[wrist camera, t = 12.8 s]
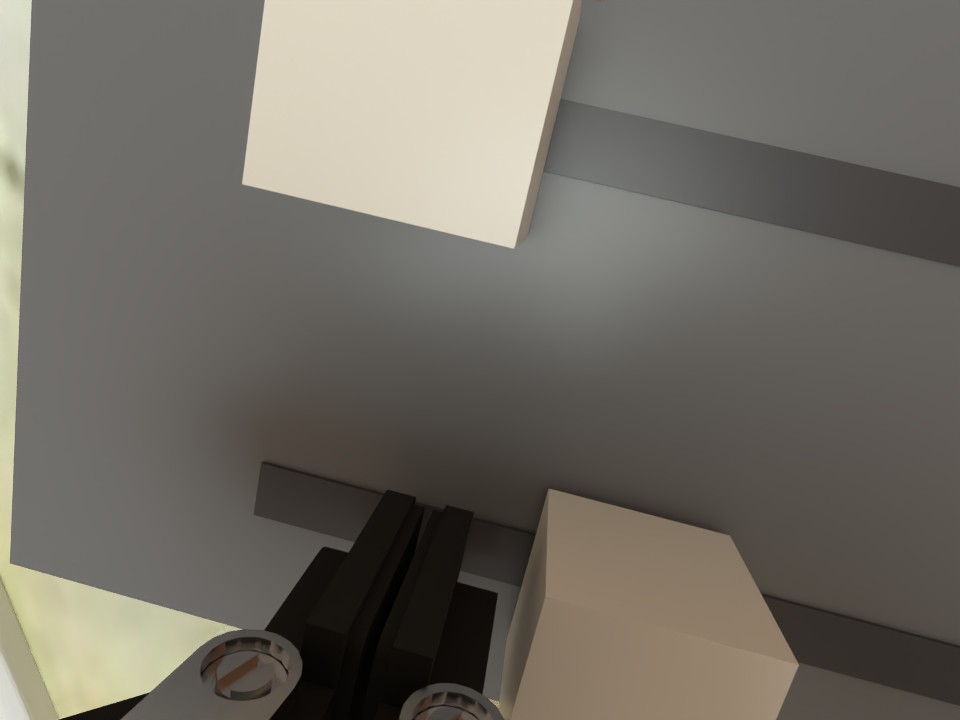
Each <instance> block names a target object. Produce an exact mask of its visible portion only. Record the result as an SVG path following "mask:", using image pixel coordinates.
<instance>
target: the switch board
mask: <svg viewBox="0 0 960 720" xmlns="http://www.w3.org/2000/svg"><path fill="white" fill-rule="evenodd" d="M264 3H265V0H32V12H31V38H30V63H29V89H28V115H27V140H26V166H25V191H24V217H23V243H22V268H21V294H20V319H19V345H18V371H17V396H16V422H15V447H14V473H13V499H12V524H11V550H10V563H11V564H14V565H18V566H21V567H25V568H28V569H32V570H35V571H39V572H43V573H46V574H50V575H53V576H57V577H60V578H64V579H67V580H71V581H74V582H78V583H81V584H85V585H89V586H92V587H96V588H99V589H103V590H106V591H110V592H113V593H117V594H120V595H124V596H128V597H131V598H135V599H138V600H142V601H145V602H149V603H152V604H156V605H159V606H163V607H167V608H170V609H174V610H177V611H181V612H184V613H188V614H191V615H195V616H198V617H202V618H205V619H209V620H213V621H216V622H220V623H223V624H227V625H230V626H234V627H237V628H241V629H254V630H264V629H265V628H266V627H267V625H268V624H269V622H270V621H271V619H272V618H273V617H274V615H275V614H276V612H277V611H278V609H279V608H280V606H281V605H282V604H283V602H284V601H285V599H286V598H287V596H288V595H289V594H290V592H291V591H292V589H293V588H294V586H295V585H296V584H297V582H298V581H299V579H300V578H301V576H302V575H303V574H304V572H305V571H306V569H307V568H308V566H309V565H310V564H311V562H312V561H313V559H314V558H315V556H316V555H317V554H318V552H319V551H320V550H321V549H322V547H325V546H326V547H330V548H333V549H337V550H341V551H344V552H348V553H349V551H350V549H351V548H352V546H353V544H354V543H355V541H356V539H357V538H358V536H359V534H360V533H361V531H362V530H363V528H364V526H365V525H366V523H367V521H368V520H369V518H370V516H371V515H372V513H373V512H374V510H375V508H376V507H377V505H378V503H379V502H380V500H381V498H382V497H383V495H384V494H385V492H386V491H387V490H392V491H395V492H399V493H403V494H407V495H411V496H414V497H416V501H415V505H418V506H422V507H424V515H423V519H422V524H421V528H420V533H419V538H418V542H417V547H418V544H419V542H420V539H421V537H422V535H423V532H424V530H425V527H426V525H427V522H428V520H429V518H430V515H431V513H432V511H433V510H437V511H441V512H443V511H444V509H445V506H446V505H449V506H453V507H457V508H460V509H464V510H468V511H472V512H474V515H473V519H472V523H471V527H470V532H469V536H468V540H467V544H466V548H465V552H464V556H463V560H462V565H461V569H460V573H459V577H458V581H457V582H460V583H463V584H467V585H471V586H474V587H478V588H482V589H486V590H489V591H493V592H497V593H498V597H497V604H496V611H495V617H494V624H493V630H492V637H491V643H490V650H489V656H488V663H487V669H486V676H485V682H484V689H483V695H484V696H485V697H486V698H489V699H492V700H496V701H500V692H501V684H502V675H503V667H504V658H505V649H506V641H507V637H508V633H509V630H510V626H511V622H512V619H513V615H514V612H515V608H516V604H517V601H518V597H519V594H520V590H521V586H522V583H523V579H524V575H525V572H526V568H527V565H528V561H529V557H530V554H531V550H532V547H533V543H534V539H535V536H536V532H537V529H538V525H539V521H540V518H541V514H542V510H543V507H544V503H545V500H546V496H547V492H548V489H553V490H557V491H560V492H564V493H568V494H572V495H576V496H580V497H584V498H587V499H591V500H595V501H599V502H603V503H607V504H610V505H614V506H618V507H622V508H626V509H630V510H634V511H637V512H641V513H645V514H649V515H653V516H657V517H660V518H664V519H668V520H672V521H676V522H680V523H683V524H687V525H691V526H695V527H699V528H703V529H707V530H710V531H714V532H718V533H722V534H726V535H730V537H731V539H732V540H733V542H734V544H735V546H736V548H737V550H738V552H739V553H740V555H741V557H742V559H743V561H744V563H745V565H746V567H747V568H748V570H749V572H750V574H751V576H752V578H753V580H754V582H755V583H756V585H757V587H758V589H759V591H760V593H761V595H762V597H763V598H764V600H765V602H766V604H767V606H768V608H769V610H770V612H771V613H772V615H773V617H774V619H775V621H776V623H777V625H778V627H779V628H780V630H781V632H782V634H783V636H784V638H785V640H786V642H787V643H788V645H789V647H790V649H791V651H792V653H793V655H794V657H795V658H796V660H797V662H798V664H799V666H798V669H797V671H796V673H795V676H794V678H793V680H792V683H791V685H790V688H789V690H788V692H787V695H786V697H785V699H784V702H783V704H782V707H781V709H780V711H779V714H778V716H777V718H776V720H960V0H581V9H580V17H579V24H578V28H577V32H576V36H575V40H574V44H573V49H572V53H571V57H570V61H569V65H568V69H567V74H566V78H565V82H564V86H563V90H562V94H561V99H560V103H559V107H558V111H557V115H556V119H555V124H554V128H553V132H552V136H551V140H550V144H549V148H548V153H547V157H546V161H545V165H544V169H543V173H542V178H541V182H540V186H539V190H538V194H537V198H536V203H535V207H534V211H533V215H532V219H531V223H530V228H529V232H528V236H527V238H526V239H525V240H523V241H522V242H521V243H520V244H519V245H518V246H517V247H516V248H515V249H513V248H509V247H504V246H500V245H496V244H492V243H488V242H483V241H479V240H475V239H471V238H467V237H462V236H458V235H454V234H450V233H446V232H441V231H437V230H433V229H429V228H425V227H420V226H416V225H412V224H408V223H403V222H399V221H395V220H391V219H387V218H382V217H378V216H374V215H370V214H366V213H361V212H357V211H353V210H349V209H345V208H340V207H336V206H332V205H328V204H324V203H319V202H315V201H311V200H307V199H303V198H298V197H294V196H290V195H286V194H281V193H277V192H273V191H269V190H265V189H260V188H256V187H252V186H248V185H244V184H242V180H243V172H244V164H245V156H246V148H247V140H248V132H249V124H250V116H251V108H252V100H253V92H254V83H255V75H256V67H257V59H258V51H259V43H260V35H261V27H262V19H263V11H264ZM417 547H416V549H417Z"/></svg>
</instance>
